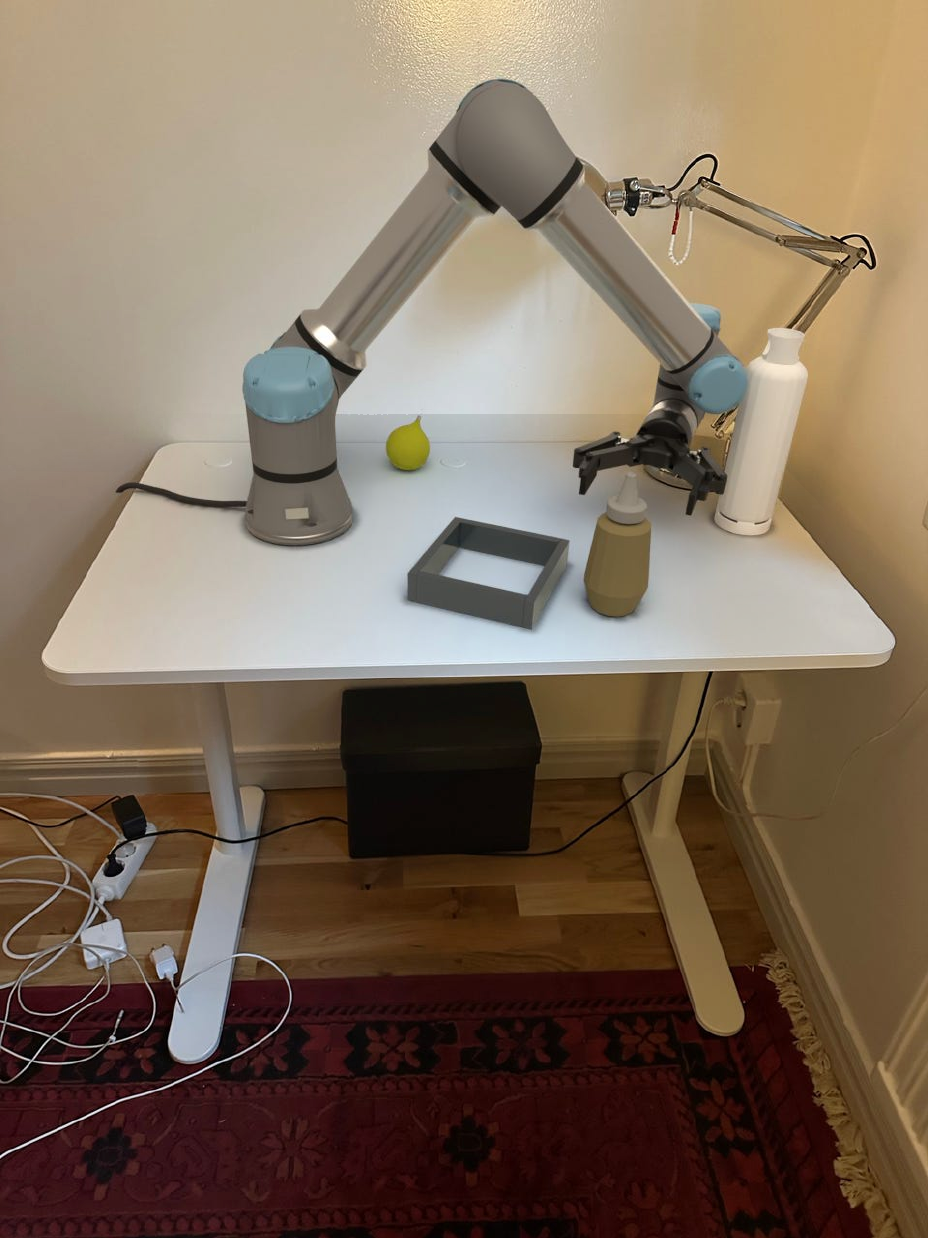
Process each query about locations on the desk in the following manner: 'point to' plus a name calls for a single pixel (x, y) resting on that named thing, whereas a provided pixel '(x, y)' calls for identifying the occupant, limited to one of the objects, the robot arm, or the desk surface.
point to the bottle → (763, 435)
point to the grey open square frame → (479, 597)
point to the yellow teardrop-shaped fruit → (408, 446)
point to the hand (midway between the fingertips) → (635, 495)
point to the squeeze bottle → (619, 554)
